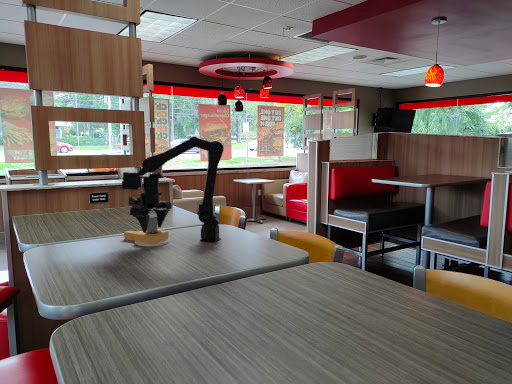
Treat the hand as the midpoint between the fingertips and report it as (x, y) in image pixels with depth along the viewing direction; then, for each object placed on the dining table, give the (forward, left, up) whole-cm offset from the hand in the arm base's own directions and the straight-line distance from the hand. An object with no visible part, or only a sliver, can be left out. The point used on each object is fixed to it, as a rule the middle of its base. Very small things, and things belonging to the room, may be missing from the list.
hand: (152, 229), depth 144 cm
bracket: (+3, 0, -5) cm, 6 cm away
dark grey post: (0, 0, -4) cm, 4 cm away
